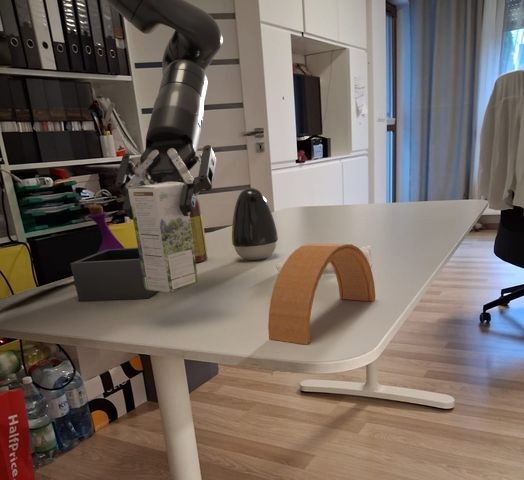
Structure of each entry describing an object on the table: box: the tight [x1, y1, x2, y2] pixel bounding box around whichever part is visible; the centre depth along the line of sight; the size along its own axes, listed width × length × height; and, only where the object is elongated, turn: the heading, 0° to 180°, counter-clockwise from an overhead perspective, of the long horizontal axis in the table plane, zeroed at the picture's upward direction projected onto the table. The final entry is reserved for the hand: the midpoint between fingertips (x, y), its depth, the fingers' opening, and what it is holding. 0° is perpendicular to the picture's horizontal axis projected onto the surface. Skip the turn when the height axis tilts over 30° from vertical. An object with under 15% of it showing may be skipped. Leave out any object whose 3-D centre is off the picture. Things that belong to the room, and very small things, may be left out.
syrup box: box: [128, 182, 199, 293], centre depth 74 cm, size 6×6×14 cm
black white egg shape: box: [231, 187, 279, 261], centre depth 115 cm, size 10×10×15 cm
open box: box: [69, 247, 160, 302], centre depth 98 cm, size 14×13×7 cm
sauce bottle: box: [178, 170, 208, 264], centre depth 118 cm, size 7×6×20 cm
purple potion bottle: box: [87, 189, 125, 253], centre depth 115 cm, size 8×8×18 cm
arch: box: [267, 243, 376, 345], centre depth 70 cm, size 6×20×10 cm, turn 144°
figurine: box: [275, 243, 373, 273], centre depth 98 cm, size 17×5×18 cm
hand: (157, 214), depth 71 cm, fingers closed on syrup box, 7 cm apart
